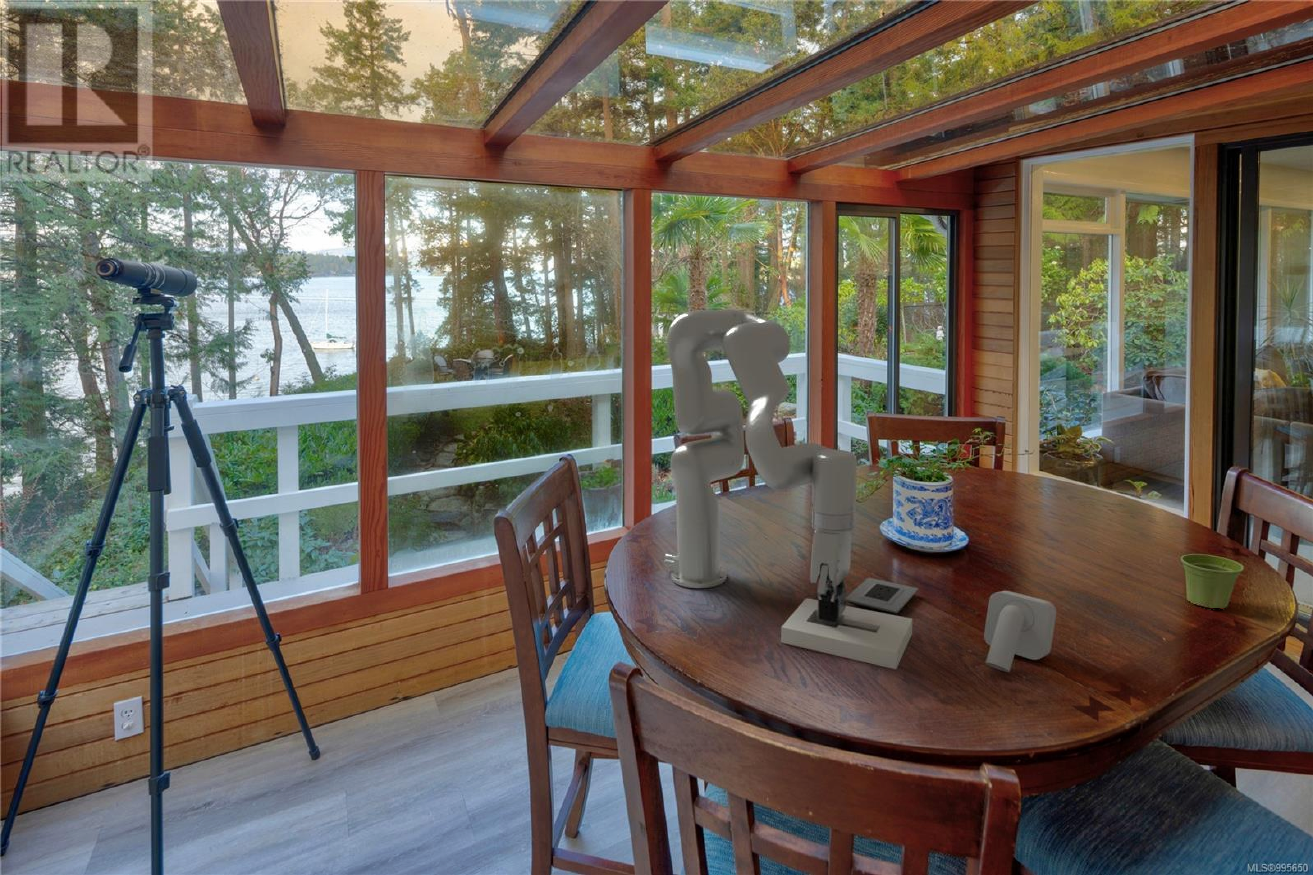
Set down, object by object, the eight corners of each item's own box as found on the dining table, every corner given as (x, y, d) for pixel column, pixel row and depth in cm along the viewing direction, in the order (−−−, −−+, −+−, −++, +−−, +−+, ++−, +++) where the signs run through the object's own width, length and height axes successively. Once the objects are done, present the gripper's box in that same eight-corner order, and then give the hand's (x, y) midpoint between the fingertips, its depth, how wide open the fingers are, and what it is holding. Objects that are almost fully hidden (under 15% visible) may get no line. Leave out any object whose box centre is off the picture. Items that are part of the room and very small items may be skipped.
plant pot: (1232, 619, 124) (1238, 575, 122) (1170, 603, 131) (1175, 562, 129) (1242, 604, 129) (1248, 562, 128) (1183, 590, 137) (1187, 550, 135)
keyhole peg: (816, 636, 122) (816, 592, 120) (823, 626, 125) (823, 583, 124) (839, 642, 119) (840, 596, 118) (846, 632, 123) (847, 587, 122)
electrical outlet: (868, 586, 144) (868, 576, 144) (918, 597, 138) (918, 587, 137) (844, 608, 134) (844, 597, 134) (897, 621, 128) (897, 610, 127)
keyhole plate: (781, 642, 120) (781, 627, 120) (806, 612, 132) (806, 598, 131) (896, 669, 110) (896, 652, 109) (911, 634, 122) (912, 618, 121)
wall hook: (963, 662, 110) (974, 593, 110) (988, 652, 119) (998, 588, 118) (1025, 684, 103) (1036, 610, 103) (1047, 671, 112) (1058, 603, 112)
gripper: (826, 504, 127) (825, 594, 131) (797, 529, 113) (796, 629, 117) (866, 509, 123) (863, 601, 127) (841, 536, 109) (839, 639, 113)
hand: (831, 614), depth 122 cm, fingers closed on keyhole peg, 4 cm apart
